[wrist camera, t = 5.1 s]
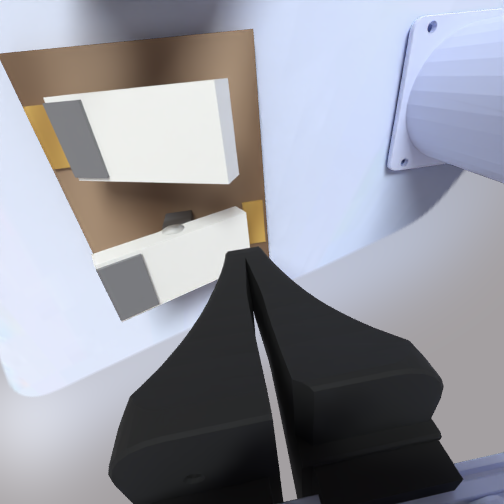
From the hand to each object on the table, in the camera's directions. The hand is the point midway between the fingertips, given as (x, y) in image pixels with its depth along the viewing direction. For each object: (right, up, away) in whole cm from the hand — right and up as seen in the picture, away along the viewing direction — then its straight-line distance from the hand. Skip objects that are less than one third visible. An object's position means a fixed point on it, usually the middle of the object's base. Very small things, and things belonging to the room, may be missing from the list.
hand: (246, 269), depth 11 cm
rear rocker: (-4, 0, +5) cm, 6 cm away
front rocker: (-4, +6, +1) cm, 7 cm away
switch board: (-5, +5, +6) cm, 9 cm away
